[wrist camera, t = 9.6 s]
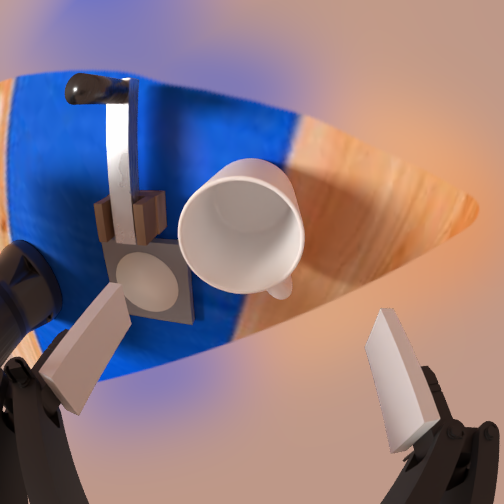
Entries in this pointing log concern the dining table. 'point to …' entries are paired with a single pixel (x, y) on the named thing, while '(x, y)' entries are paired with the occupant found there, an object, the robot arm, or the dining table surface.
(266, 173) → the mug
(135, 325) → the dining table surface
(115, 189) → the crank handle
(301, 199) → the dining table surface
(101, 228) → the mount
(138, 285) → the dock pad
